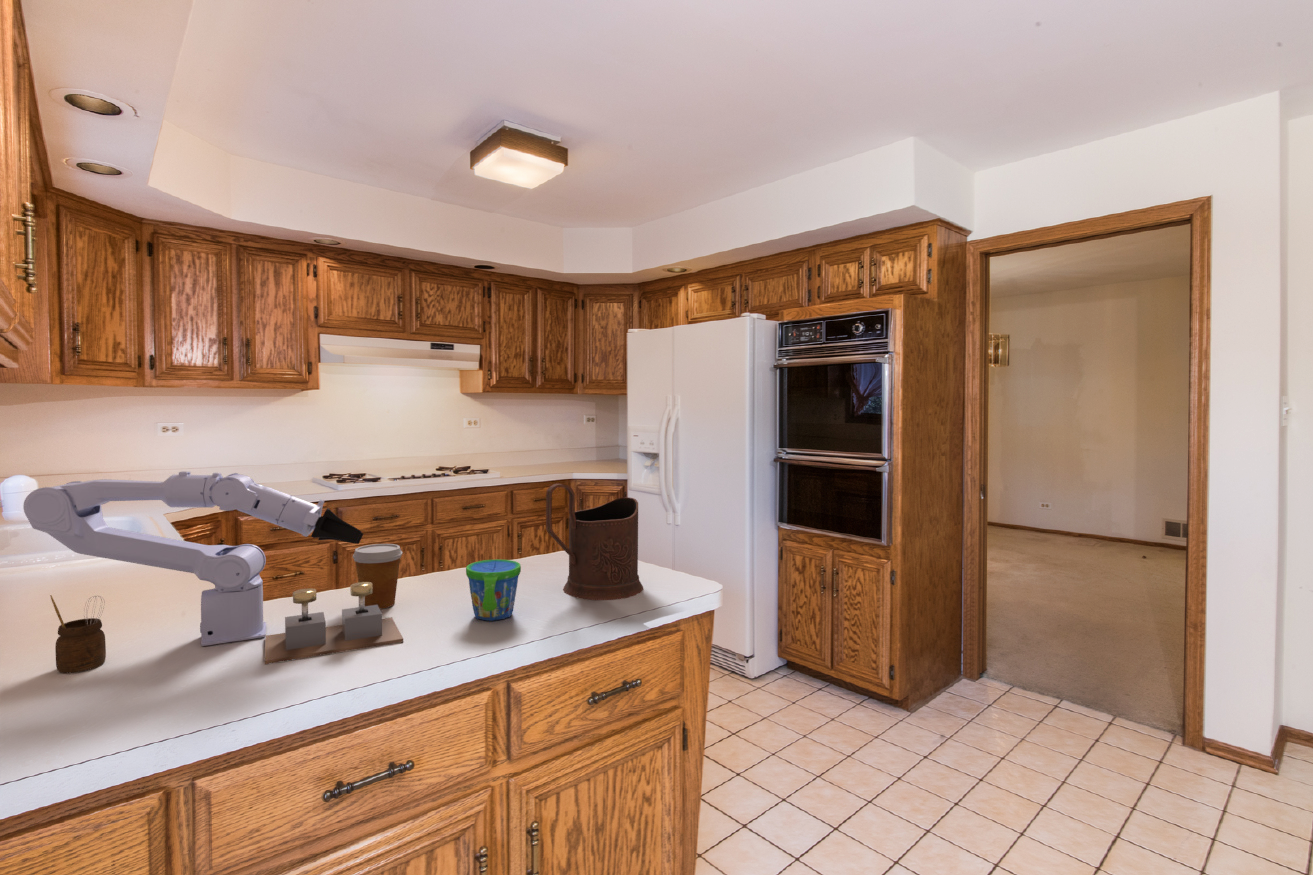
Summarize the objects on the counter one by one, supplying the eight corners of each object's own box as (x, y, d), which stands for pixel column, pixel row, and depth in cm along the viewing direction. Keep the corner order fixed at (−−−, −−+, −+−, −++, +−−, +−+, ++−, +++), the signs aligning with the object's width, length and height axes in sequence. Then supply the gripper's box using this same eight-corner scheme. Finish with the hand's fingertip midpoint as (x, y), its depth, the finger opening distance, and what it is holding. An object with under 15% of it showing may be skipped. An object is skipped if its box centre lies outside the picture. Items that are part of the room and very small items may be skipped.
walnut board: (264, 664, 105) (264, 660, 105) (265, 638, 116) (265, 635, 116) (403, 641, 115) (403, 638, 115) (392, 620, 126) (392, 617, 126)
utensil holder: (108, 667, 103) (106, 592, 102) (54, 678, 99) (51, 600, 98) (104, 656, 107) (102, 584, 107) (52, 667, 103) (49, 591, 102)
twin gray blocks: (285, 650, 109) (285, 627, 109) (285, 638, 114) (284, 616, 114) (382, 635, 117) (381, 613, 117) (377, 625, 122) (377, 604, 122)
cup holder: (660, 590, 149) (661, 481, 148) (570, 610, 134) (571, 489, 132) (612, 573, 163) (612, 474, 162) (526, 590, 148) (526, 480, 147)
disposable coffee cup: (385, 613, 130) (384, 554, 130) (342, 610, 132) (342, 551, 132) (412, 600, 140) (411, 544, 139) (372, 597, 142) (371, 542, 141)
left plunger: (293, 627, 111) (292, 595, 110) (293, 621, 114) (292, 590, 114) (317, 624, 112) (316, 592, 112) (316, 618, 116) (315, 587, 115)
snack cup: (513, 629, 122) (513, 575, 122) (456, 629, 122) (456, 575, 121) (526, 603, 138) (526, 556, 137) (476, 603, 138) (476, 556, 137)
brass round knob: (351, 619, 115) (351, 588, 115) (349, 613, 118) (349, 583, 118) (373, 616, 117) (373, 585, 117) (371, 610, 120) (371, 581, 120)
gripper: (290, 485, 113) (368, 514, 117) (301, 494, 127) (371, 520, 130) (270, 523, 111) (350, 552, 115) (283, 528, 124) (354, 554, 128)
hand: (360, 537), depth 122 cm, fingers open, 7 cm apart
